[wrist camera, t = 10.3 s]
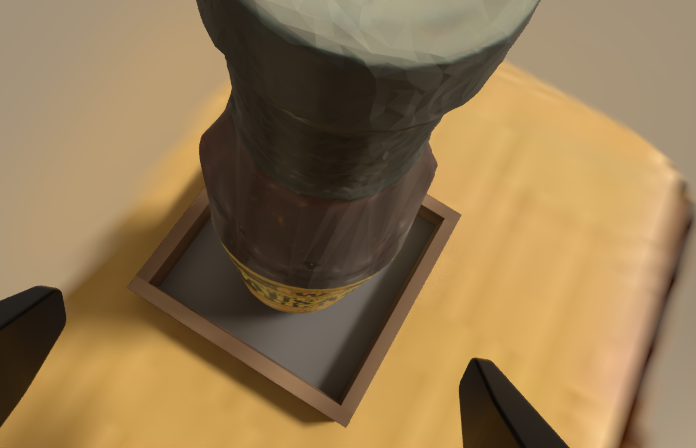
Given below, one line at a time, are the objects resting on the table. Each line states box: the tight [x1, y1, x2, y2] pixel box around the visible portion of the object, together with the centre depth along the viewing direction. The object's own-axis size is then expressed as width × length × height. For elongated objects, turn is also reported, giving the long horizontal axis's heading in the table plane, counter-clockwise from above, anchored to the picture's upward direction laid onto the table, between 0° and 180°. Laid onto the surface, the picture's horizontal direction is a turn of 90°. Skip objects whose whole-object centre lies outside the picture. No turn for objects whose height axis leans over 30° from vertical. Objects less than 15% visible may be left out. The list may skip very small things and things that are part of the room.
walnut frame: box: [127, 186, 461, 428], centre depth 23 cm, size 12×12×2 cm
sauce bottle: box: [196, 0, 540, 314], centre depth 14 cm, size 6×6×20 cm
